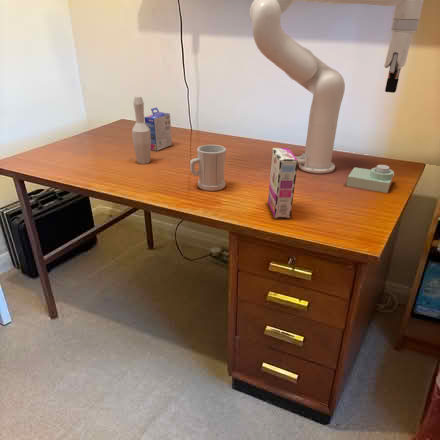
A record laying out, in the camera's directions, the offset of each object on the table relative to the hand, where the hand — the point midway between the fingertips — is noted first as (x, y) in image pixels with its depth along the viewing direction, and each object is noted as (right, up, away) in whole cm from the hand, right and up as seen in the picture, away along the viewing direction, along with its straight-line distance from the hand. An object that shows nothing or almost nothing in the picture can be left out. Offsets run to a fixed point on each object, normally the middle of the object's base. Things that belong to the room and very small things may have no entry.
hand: (390, 91), depth 142 cm
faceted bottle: (-84, -18, +17) cm, 87 cm away
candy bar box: (-39, -42, -17) cm, 60 cm away
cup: (-59, -32, -3) cm, 67 cm away
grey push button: (-4, -27, -3) cm, 27 cm away
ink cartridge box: (-80, -7, +32) cm, 86 cm away
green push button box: (-6, -30, +1) cm, 31 cm away
